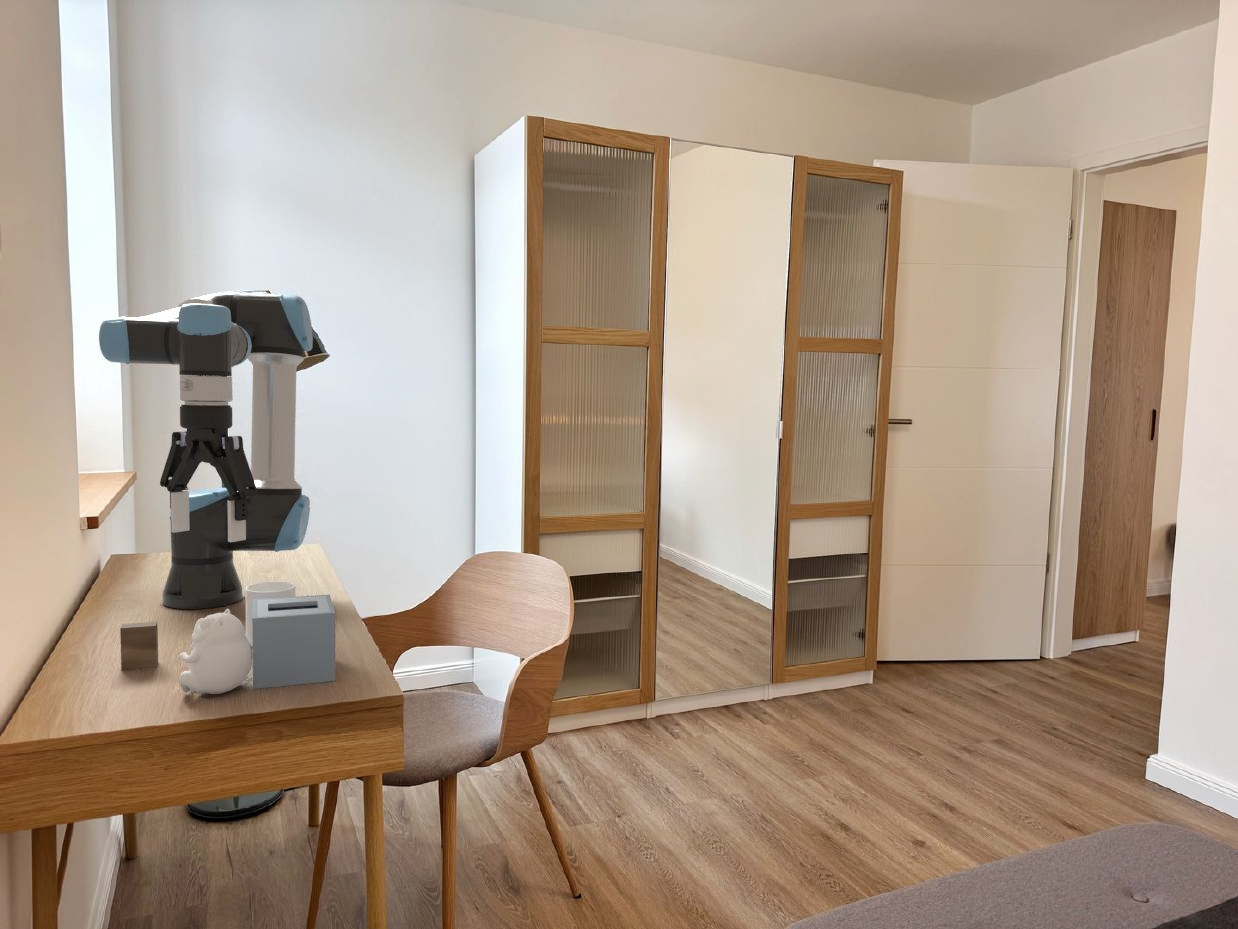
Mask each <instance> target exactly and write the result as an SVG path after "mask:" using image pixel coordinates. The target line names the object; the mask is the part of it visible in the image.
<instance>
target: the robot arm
mask: <svg viewBox="0 0 1238 929" xmlns="http://www.w3.org/2000/svg"><path fill="white" fill-rule="evenodd" d="M313 335H314V334H313V327H312V320H311V316H310V312H309V308H308V305H307V303H306V301H305V300H304V299H303V298H302V297H301V296H299V295H293V294H284V293H266V292H265V293H263V292H259V293H258V292H236V291H225V292H217V293H216V292H215V293H211V294H206V295H201V296H198V297H193V298H189V299H186V300H184V301H182V302H181V303H179V304H178V306H177V307H175V308H171V309H169V310H168V309H167V310H163V311H161V312H157V313H153V314H149V315H143V316H139V317H129V316H128V317H127V316H123V315H122V316H120V317H119V316H115V317H106V318H105V319H104V320H102V323H101V324H100V327H99V332H98V342H99V349H100V352H101V354H102V356H103V358H105V360H106V361H108V362H110V363H120V364H126V365H130V364H142V365H144V364H145V365H146V364H148V365H150V364H151V365H172V366H173V365H178V367H179V369H178V370H179V399H180V400H181V401H182V402H184V404H181V405H180V406H179V426H180V428H182V429H186V431H173V432H172V433H171V434H172V435H171V443H170V448H169V452H168V455H167V458H166V461H165V464H164V468H163V470H162V474H161V478H160V479H159V485H160V487H162V488H164V487H165V488H166V489H167V492H169V508H170V516H169V520H170V548H171V549H170V553H171V555H170V556H171V565H170V566H171V567H170V569H169V572H168V575H167V577H166V578H167V579H166V581H165V584H164V587H163V589H162V605H163V606H166V607H169V608H172V609H173V608H174V609H179V610H181V609H182V610H183V609H184V610H185V609H186V610H195V609H196V610H198V609H199V610H200V609H210V608H219V607H223V606H227V605H231V604H234V603H237V602H239V601H241V600H242V599H243V585H242V582H241V580H240V578H239V575H238V572H237V568H236V567H235V563H234V552H247V551H248V552H282V551H284V552H285V551H295V550H297V549H298V548H300V546H301V545H302V544H303V542H304V540H305V537H306V534H307V530H308V527H309V526H308V524H309V520H310V512H311V510H310V509H311V507H310V504H311V501H310V498H309V496H307V495H305V494H302V492H303V491H302V490H303V488H302V487H303V486H301V485H300V484H299V482H297V480H296V479H295V464H296V463H295V462H296V461H295V458H296V418H297V416H296V415H297V414H296V412H297V410H296V409H297V408H296V407H297V406H296V405H297V399H296V398H297V368H298V366H299V365H300V364H301V363H303V362H304V360H305V352H310V351H312V349H313V347H314V346H313V345H314V344H313V342H314V336H313ZM246 360H248V361H249V362H250V363H251V364H252V393H251V394H252V396H251V397H252V398H251V399H252V400H251V402H252V403H251V442H250V443H251V446H250V448H251V453H250V454H251V456H250V465H249V462H248V459H247V456H246V452H245V450H244V443H243V442H244V440H243V437H242V436H241V435H233V436H232V435H231V436H230V435H228V430H229V429H231V428H232V427H233V407H232V406H231V404H229V402H230V403H231V402H232V401H233V397H234V396H233V377H232V375H233V373H232V371H233V370H232V368H234V367H235V366H239V365H241V364H243V363H244V362H245V361H246ZM202 462H203V463H205V464H209V465H210V466H211V467H213V468H215V471H216V472H217V474H218V476H219V478H220V479H221V481H222V483H223V484H224V487H218V488H216V487H215V488H208V489H207V488H206V489H200V490H194V491H189V487H188V484H189V482H190V481H191V480H192V477H193V476H194V474H195V472H196V471H197V469H198V467H199V465H200V464H201V463H202Z"/></svg>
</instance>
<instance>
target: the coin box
mask: <svg viewBox="0 0 1238 929" xmlns="http://www.w3.org/2000/svg"><path fill="white" fill-rule="evenodd" d="M252 627H253V647H252V690H256V689H265V688H266V689H267V688H268V689H269V688H278V687H287V686H294V685H295V686H296V685H305V684H306V685H307V684H318V683H328V682H336V610H335V607H334V604H333V600H332V598H331V595H330V594H319V595H318V594H317V595H301V596H299V595H298V596H295V597H282V598H265V599H253V616H252Z"/></svg>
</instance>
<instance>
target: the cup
mask: <svg viewBox="0 0 1238 929" xmlns="http://www.w3.org/2000/svg"><path fill="white" fill-rule="evenodd" d="M244 596H245V636H246V638H247V640H248V641H249V643H250V645H251V648H253V627H252V616H253V599H265V598H282V597H296V584H295V583H293V582H290V581H280V580H278V581H275V580H272V581H270V580H269V581H262V582H261V581H260V582H256V583H250V584H249V585H247V586H245V595H244Z"/></svg>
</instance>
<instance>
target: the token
mask: <svg viewBox="0 0 1238 929" xmlns="http://www.w3.org/2000/svg"><path fill="white" fill-rule="evenodd" d="M158 632H159V631H158V621H149V622H148V621H146V622H145V621H144V622H130V623H122V624H121V626H120V632H119V633H120V635H119V636H120V665H121V667H120V669H121V671H122V672H124V671H125V672H126V671H136V669H138V670H150V669H157V668H158V664H159V640H158V639H159V638H158V637H159V634H158Z"/></svg>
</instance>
